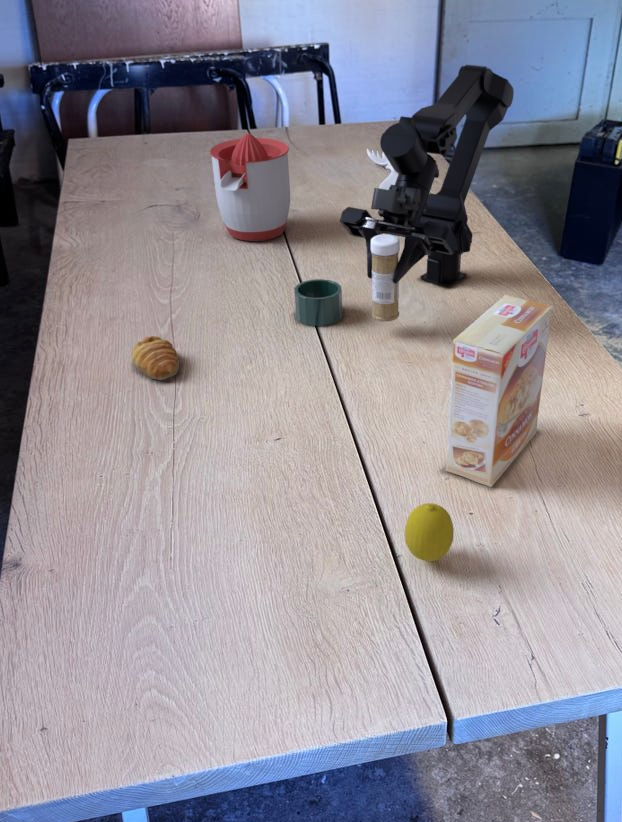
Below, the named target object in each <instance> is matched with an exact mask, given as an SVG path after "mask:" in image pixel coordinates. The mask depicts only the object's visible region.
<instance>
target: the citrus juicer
mask: <svg viewBox="0 0 622 822" xmlns="http://www.w3.org/2000/svg"><path fill="white" fill-rule="evenodd" d="M289 151H290V147H289V146H288V144H286V143H285V142H283V141H282V140H281V141H280V140H278V139H273V138H266V137H265V138H263V137H255V136H254V135H253V134H251V132H247V133H245V134H244V135H243V136H242V137H241V138H237V139H231V140H226V141H222V142H220V143H217V144H215V145H213V146H212V147H211V148H210V150H209V155H210V156H211V163H212V164H211V165H212V171H213V180H214V187H215V188H214V189H215V196H216V202H217V206H218V210H219V214H220V216H221V218H222V221H223V225H224V226H225V229H226V230H227V232H228V234H229V235H230V236H231V237H232V238H234V239H237V240H241V241H248V242H249V241H250V242H251V241H252V242H257V241H259V242H266V241H268V240H271V239H274V238H276V237H279V236H280V235H282V234H283V233H284V231H285V229H286V227H287V223H288V218H289V212H290V208H291V207H290V206H291V184H290V183H291V182H290V169H289Z"/></svg>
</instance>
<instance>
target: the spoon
mask: <svg viewBox="0 0 622 822" xmlns="http://www.w3.org/2000/svg"><path fill="white" fill-rule="evenodd" d="M366 153H367V156H368V158H370V159H371V161H372V162H373V163H375V164H376V165H378V166H381V167H384V168H385V169H386V170H389V171H390V173H389V175H388V176H387V177H386V178H385V179H384V180H383V181H382V182H381V183H380V184H379V186H378V188H380V189H386V190H389V187H390V186H391V185H395V183H396V180H397V177H398V174H399V173H397V172H396V171H395V170H394V168H393V167H392V165H391V164H390V162H389V160H388V159H387V157H386V156H385V154H384V152H383V151H382V153H381V155H380V153H379V151H378V150H376V153H375V151H374V150H373V149H372V150H371V151H370V150H369V148H366Z"/></svg>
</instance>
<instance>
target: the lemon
mask: <svg viewBox="0 0 622 822" xmlns="http://www.w3.org/2000/svg"><path fill="white" fill-rule="evenodd" d="M451 517H452V516H451V515H450V514H449V512H448V511H447V509H445V508H444V507H443V506H441V505H439V504H437V503H432V502H431V503H430V502H427V503H423V504H420V505H418V506H417V507H415V508H413V510H412V511H411V512H410V513H409V515H408V517H407V520H406V523H405V527H404V539H405V544H406V547H407V549H408V550H409V552H410V553H411V555H413V556H414V557H415V558H417V559H419V560H421V561H423V562H434V561H435V562H436V561H438V560H440V559H442V558H443V557H445V555H447V554H448V552H449V551H450V550H451V547H452V544H453V541H454V536H455V535H454V534H455V533H454V523H453V521H452V518H451Z"/></svg>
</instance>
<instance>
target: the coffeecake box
mask: <svg viewBox="0 0 622 822" xmlns="http://www.w3.org/2000/svg"><path fill="white" fill-rule="evenodd" d="M553 309H554V307H553V306H552V305H549V304H545V303H542V302H537V301H534V300H529V299H523V298H521V297H516V296H513V295H508V294H504V295H503V296H502V297H501V298H500V299H499V300H498V301H496V302H495V303H494V304H493V305H491V306H490V307H489V308H488V309H487V310H486V311H485V312H484V313H483V314H481V315H480V316H479V317H478V318H477V319H475V320H474V322H472V323H471V324H470V325H469V326H468V327H466V328H465V329H464V330H463V331H461V333H459V335H457V336H456V337H454V339H453V340H452V343H453V346H452V347H453V349H452V363H451V381H450V398H449V415H448V429H447V430H448V431H447V447H446V448H447V449H446V463H445V465H446V466H445V471H446V472H448V473H451V474H454V475H457V476H460V477H463V478H466V479H468V480H471V481H473V482H475V483H478V484H481V485H484V486H487V487H490V488H492V487H493V486H494V485H495V484H496V482H497V481H498V480H499V479H500V478H501V476H502V475H503V474H504V473H505V471H506V470H507V469H508V468H509V467H510V466H511V464H512V463H513V462H514V461H515V459H516V458H517V457H518V456H519V454H520V453H521V452H522V451H523V449H524V448H525V447H526V446H527V444H528V443H529V442H530V441H531V440H532V438H533V437H534V436H535V435H536V433H537V428H538V427H537V426H538V419H539V410H540V404H541V403H540V402H541V396H542V387H543V380H544V372H545V366H546V359H547V350H548V344H549V336H550V328H551V321H552V320H551V319H552V313H553Z"/></svg>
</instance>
